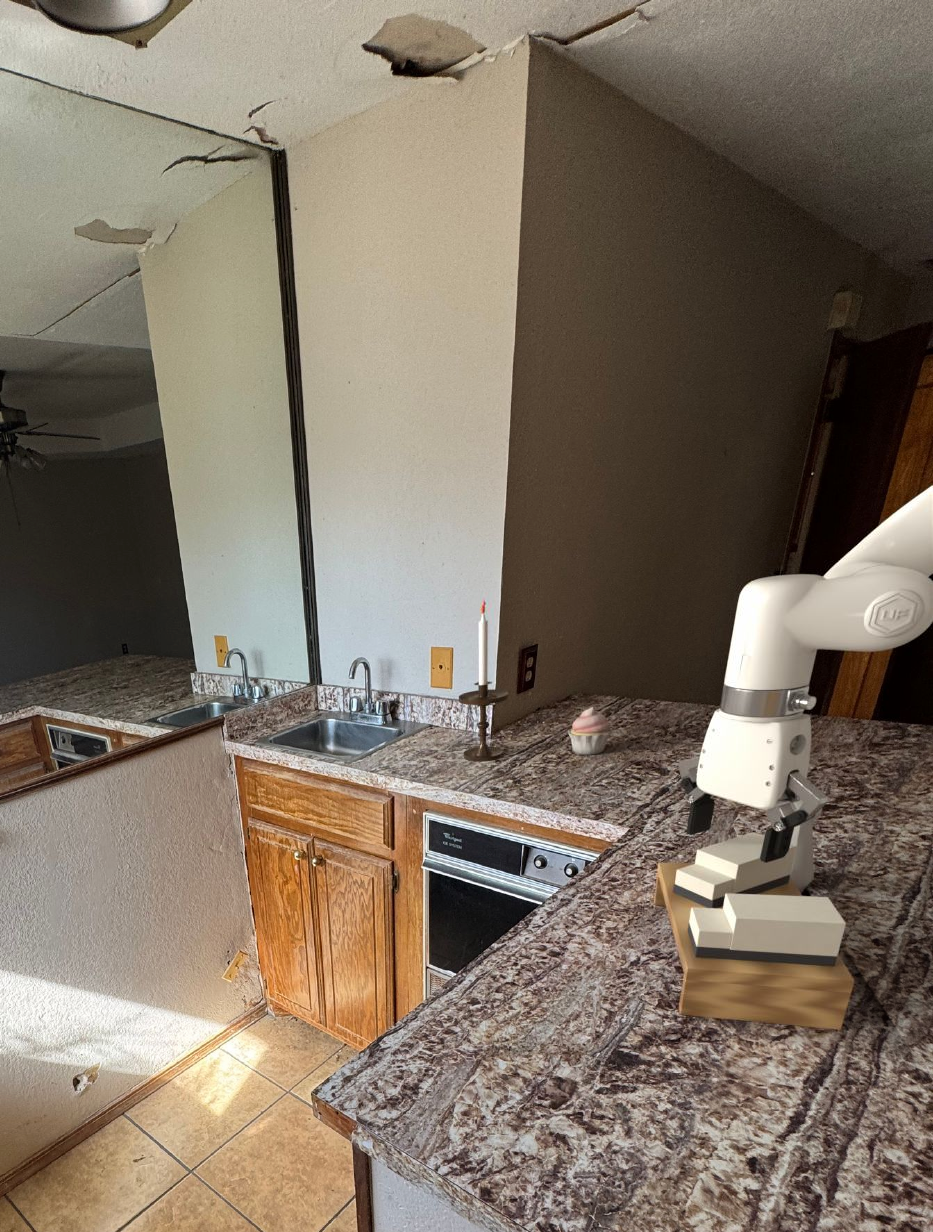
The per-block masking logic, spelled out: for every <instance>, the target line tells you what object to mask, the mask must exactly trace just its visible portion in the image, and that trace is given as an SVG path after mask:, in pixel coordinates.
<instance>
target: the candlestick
mask: <svg viewBox="0 0 933 1232" xmlns="http://www.w3.org/2000/svg"><path fill="white" fill-rule="evenodd" d="M485 606H486V601H485V599H483V600H482V605H481V609H480V611H481V618H480V620H479V621H478V682H477V681H476V682H475V683H474V684H473V685H474V686H478V689H477V690H472V691H467V692H463V693H462V694H459V696H458V703H460V704H462V705H465V706H466V705H469V706H477V707H479V721H478V722H477V724H476V727H477V729H479V733H478V734H477V737H479V741H480V742H479V745H478V746H477V747H476V746H475V747H472V748H469V749H466V750H465V751H463V759H464V760H466V761H470V762H490V761H491V762H492V761H495V760H500V758H503V757H504V749H502V748H500V747H496V746H488V744H487V737H489V733H488V731H487V729H488V728H489V727H490V723H489V722H488V721H487V707H489V706H490V705H492V704H498V703H501V702H504V701H506V700H508V699H509V692H508V691H507V690H503V689H489V685H491V684H493V681H490V680H489V681H488V661H489V660H488V658H489V657H488V656H489V655H488V653H489V651H488V650H489V647H488V646H489V645H488V640H489V639H488V635H489V633H488V632H489V631H488V630H489V629H488V628H489V627H488V626H489V625H488V623H489V621H488V620H487V619H486V616H485V613H486V607H485Z"/></svg>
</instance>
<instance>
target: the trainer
mask: <svg viewBox="0 0 933 1232" xmlns="http://www.w3.org/2000/svg"><path fill="white" fill-rule="evenodd" d="M764 837H765V834H764V835H763V834H761V833H757V832H754V831H752V832H749V833H745V834H743V835H739V836H737V837H733V838H729V839H727V840H723V841H721V842H718V843H715V844H711V845H707V846H705V847H702V848H701V847H700V848H698V849H697V850H696V855H695V862H694V863H695V864H693V865H690V866H687V867H684V868H681V869H677V872H676V879H675V884H674V887H673V892H674V893H676V894H678V895H680V896H682V897H685V898H687V899H689V900H691V901H694V902H696V903H698V904H700V905H702V906H705V907H707V908H718V907H721V906H723V905H724V900H725V894H726V893H729V894H759V893H762V892H765V891H767V890H770V889H773V888H776V887H779V886H782V885H785V884H788V883H789V878H790V874H791V869H792V864H793V860H794V855H795V851H796V846H795V845H792V844H790V848H789V851H788V853H787V854H786V855H785V857H783V858H780V859H777V860H774V861H771V862H767V863H765V862H763V861H761V859H760V855H761V851H762V846H763V842H764Z"/></svg>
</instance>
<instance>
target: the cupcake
mask: <svg viewBox="0 0 933 1232" xmlns="http://www.w3.org/2000/svg"><path fill="white" fill-rule="evenodd" d="M613 732H614V729H612V727H611V722H610V721H609V720H608V719H606V716H605V714H602V713H601V712H599V711H597V710H596V709H595V708H594V706H592V707H590V708H587V709H585V710H584V711H582V713H580V715H579V716H578V717H577V718H576V719H575V720H574V721H573V722H572V727H571V728H570V729H568V730H567V733H568V736H569V738H570V741H571V747H572V751H573V753H575V754H576V755H577V754H578V755H584V756H591V755H596V754H601V753H602V752H604V750H605V748H606V744H607V742H608V740H609V737H610V736H611V735H612V734H613Z"/></svg>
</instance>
